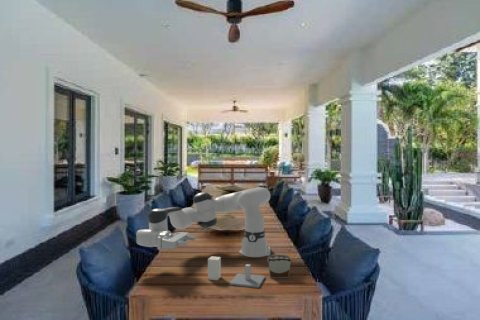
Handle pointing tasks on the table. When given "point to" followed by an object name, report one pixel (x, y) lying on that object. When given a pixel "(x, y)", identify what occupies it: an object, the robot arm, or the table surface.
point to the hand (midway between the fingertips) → (190, 241)
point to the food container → (279, 266)
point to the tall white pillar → (214, 268)
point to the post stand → (247, 279)
